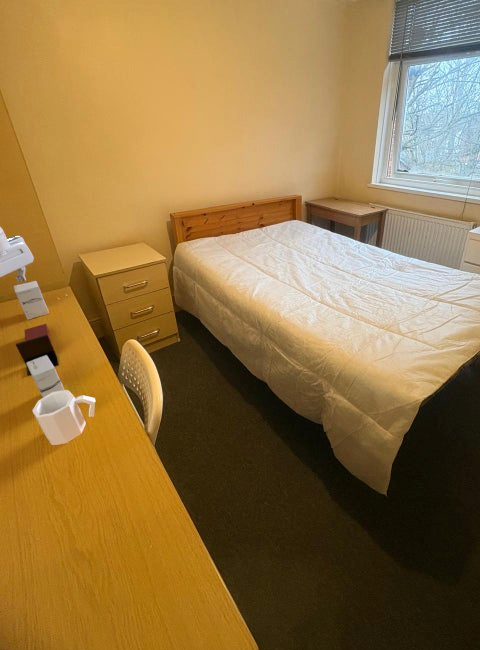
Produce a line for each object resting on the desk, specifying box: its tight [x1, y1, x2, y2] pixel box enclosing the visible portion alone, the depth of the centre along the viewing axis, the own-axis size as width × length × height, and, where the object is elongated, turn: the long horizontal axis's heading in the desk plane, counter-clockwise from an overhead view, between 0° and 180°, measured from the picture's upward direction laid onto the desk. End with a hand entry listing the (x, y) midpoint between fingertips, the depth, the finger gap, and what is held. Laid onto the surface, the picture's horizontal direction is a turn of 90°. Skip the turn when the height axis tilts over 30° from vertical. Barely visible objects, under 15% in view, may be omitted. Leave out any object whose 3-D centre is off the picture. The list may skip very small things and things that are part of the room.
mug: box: [31, 389, 96, 446], centre depth 80 cm, size 12×9×10 cm
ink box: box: [25, 355, 65, 398], centre depth 88 cm, size 9×5×12 cm, turn 48°
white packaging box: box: [12, 280, 50, 321], centre depth 127 cm, size 7×7×13 cm
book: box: [24, 323, 52, 342], centre depth 112 cm, size 16×6×3 cm, turn 39°
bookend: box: [15, 335, 60, 377], centre depth 100 cm, size 6×8×9 cm
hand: (8, 288), depth 96 cm, fingers open, 8 cm apart
